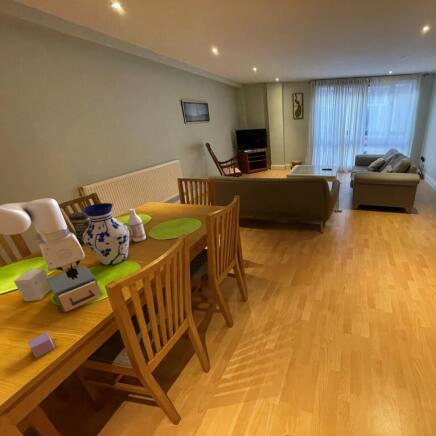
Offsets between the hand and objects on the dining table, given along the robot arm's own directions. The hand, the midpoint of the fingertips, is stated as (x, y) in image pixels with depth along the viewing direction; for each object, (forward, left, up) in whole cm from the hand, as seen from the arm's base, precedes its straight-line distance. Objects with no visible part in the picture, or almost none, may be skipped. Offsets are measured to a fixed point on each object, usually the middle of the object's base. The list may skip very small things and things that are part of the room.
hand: (74, 277), depth 90 cm
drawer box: (0, +11, -14) cm, 18 cm away
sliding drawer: (0, +6, -13) cm, 14 cm away
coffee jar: (+18, +70, -14) cm, 74 cm away
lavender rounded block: (-14, -13, -14) cm, 24 cm away
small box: (-10, +25, -14) cm, 31 cm away
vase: (+20, +31, -14) cm, 39 cm away
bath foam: (+38, +46, -14) cm, 61 cm away
